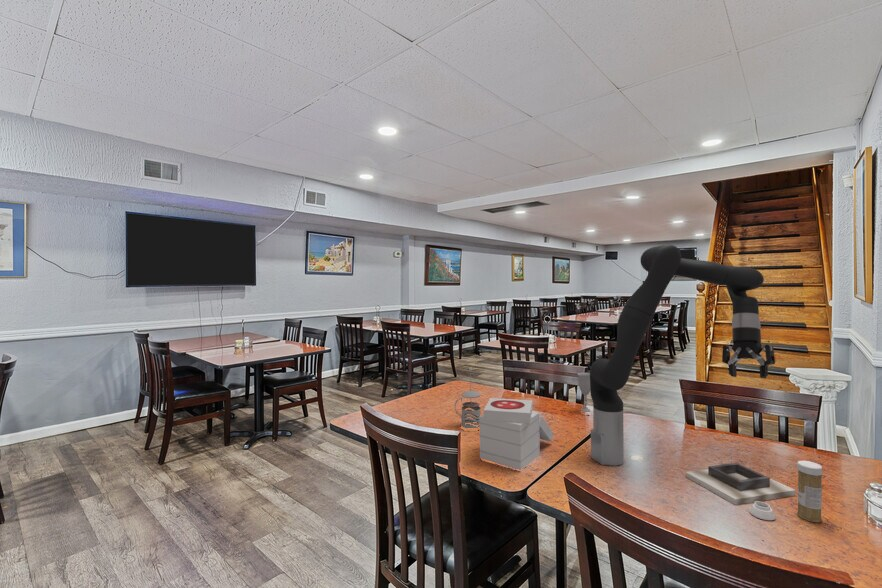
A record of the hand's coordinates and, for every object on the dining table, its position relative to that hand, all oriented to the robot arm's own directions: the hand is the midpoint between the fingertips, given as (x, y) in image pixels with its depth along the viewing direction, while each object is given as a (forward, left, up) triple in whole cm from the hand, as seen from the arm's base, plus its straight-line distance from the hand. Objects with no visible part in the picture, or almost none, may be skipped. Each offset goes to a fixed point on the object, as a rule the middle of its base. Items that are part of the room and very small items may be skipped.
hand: (748, 377), depth 130 cm
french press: (-79, +53, -28) cm, 99 cm away
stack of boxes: (-70, +25, -28) cm, 79 cm away
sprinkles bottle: (-16, -29, -28) cm, 43 cm away
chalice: (-23, +57, -28) cm, 67 cm away
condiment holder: (-18, -12, -27) cm, 35 cm away
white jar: (-26, -26, -28) cm, 46 cm away
